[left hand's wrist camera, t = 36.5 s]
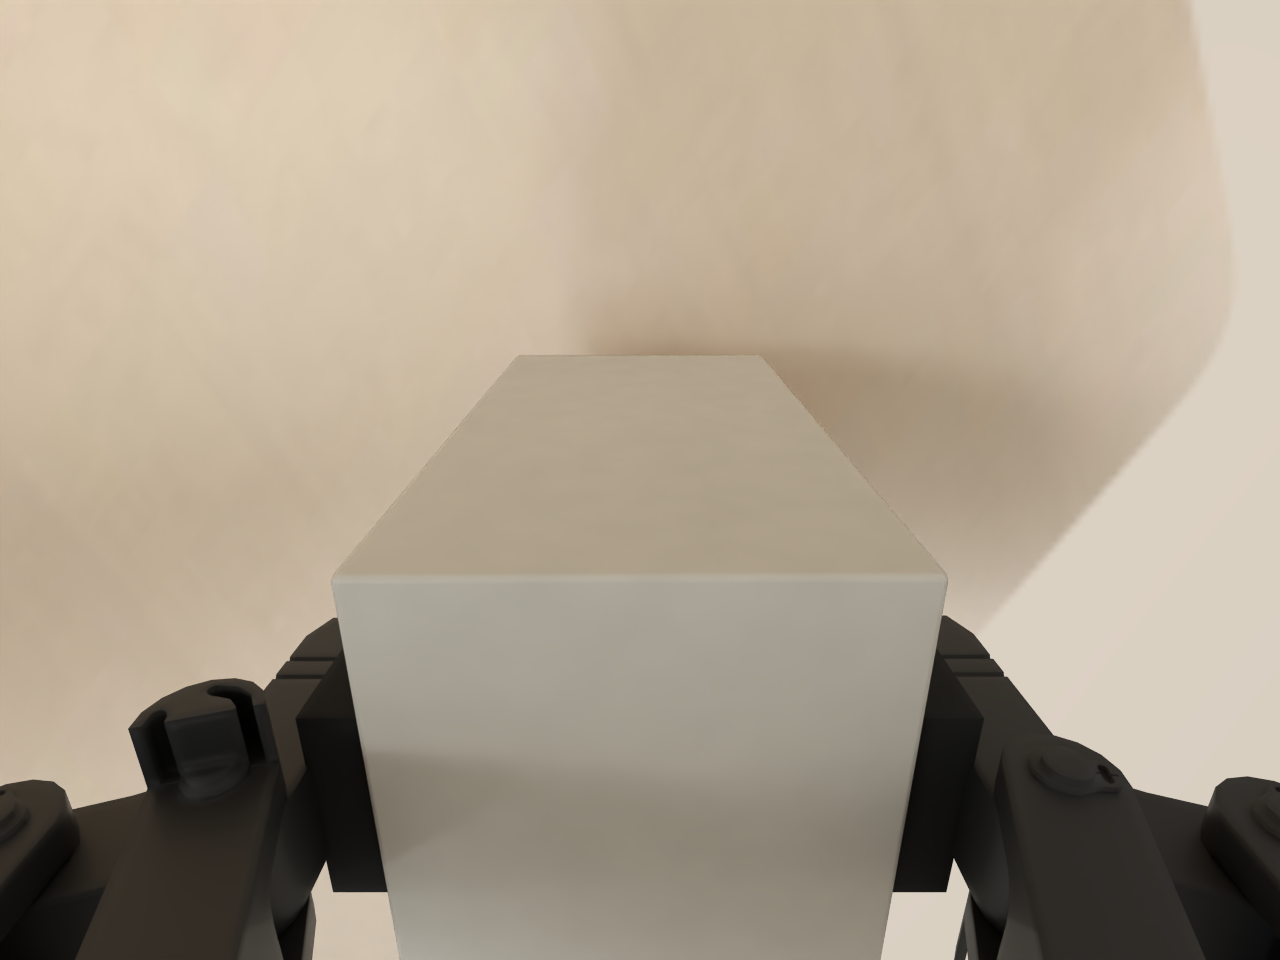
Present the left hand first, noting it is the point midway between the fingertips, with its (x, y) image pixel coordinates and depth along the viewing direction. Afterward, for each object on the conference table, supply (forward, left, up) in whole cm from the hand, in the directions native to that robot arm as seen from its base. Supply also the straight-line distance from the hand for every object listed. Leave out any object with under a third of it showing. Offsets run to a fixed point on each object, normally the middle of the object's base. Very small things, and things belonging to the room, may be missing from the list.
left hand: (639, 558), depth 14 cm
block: (0, 0, -5) cm, 5 cm away
